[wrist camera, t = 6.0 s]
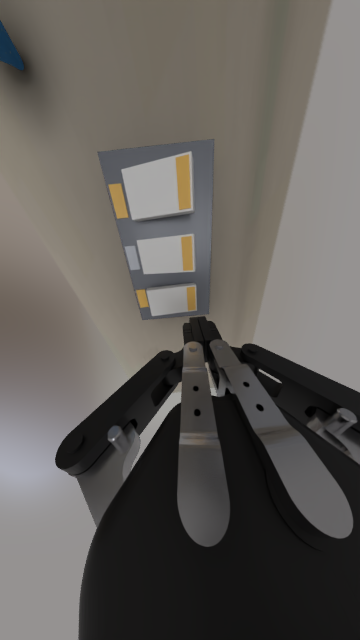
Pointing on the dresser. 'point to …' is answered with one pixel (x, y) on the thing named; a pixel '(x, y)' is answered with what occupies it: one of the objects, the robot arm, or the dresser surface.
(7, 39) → the ornament
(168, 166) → the rocker inner
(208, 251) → the switch unit
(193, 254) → the rocker middle
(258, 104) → the dresser surface
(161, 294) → the rocker outer
